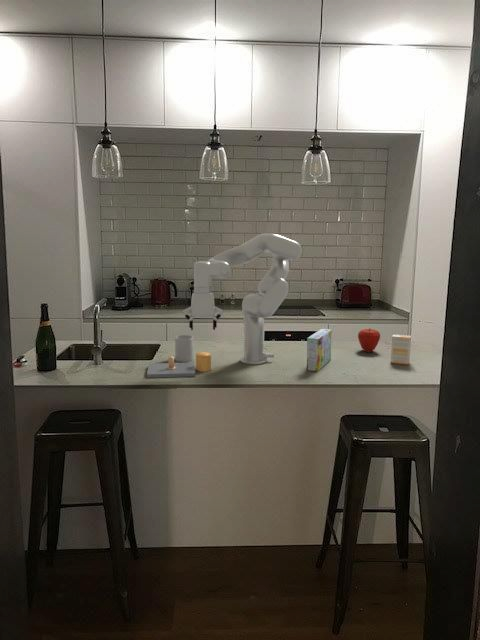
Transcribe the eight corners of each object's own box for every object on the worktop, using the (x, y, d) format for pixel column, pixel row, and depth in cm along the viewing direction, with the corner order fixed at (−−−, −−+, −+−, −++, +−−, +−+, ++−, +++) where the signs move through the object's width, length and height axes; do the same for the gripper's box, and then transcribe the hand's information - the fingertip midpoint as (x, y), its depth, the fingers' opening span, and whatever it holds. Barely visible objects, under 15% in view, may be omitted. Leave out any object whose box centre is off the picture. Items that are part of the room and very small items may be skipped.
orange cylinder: (210, 367, 224) (210, 351, 223) (211, 371, 218) (211, 355, 216) (195, 367, 223) (195, 352, 222) (196, 371, 217) (196, 356, 216)
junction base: (194, 365, 226) (193, 351, 225) (195, 376, 210) (195, 361, 209) (149, 366, 224) (148, 352, 222) (147, 377, 208) (146, 362, 207)
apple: (358, 347, 261) (360, 325, 259) (380, 349, 257) (381, 326, 255) (355, 352, 251) (357, 329, 249) (377, 354, 247) (379, 331, 245)
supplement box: (409, 362, 234) (411, 335, 232) (408, 365, 230) (410, 337, 227) (391, 360, 237) (393, 333, 235) (390, 363, 233) (391, 335, 231)
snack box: (319, 358, 239) (321, 328, 237) (331, 360, 237) (332, 329, 234) (305, 370, 221) (306, 337, 218) (317, 372, 218) (319, 338, 215)
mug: (192, 362, 231) (192, 339, 229) (174, 362, 231) (174, 339, 229) (194, 355, 243) (194, 333, 241) (177, 355, 243) (176, 333, 241)
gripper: (222, 289, 218) (222, 327, 222) (182, 289, 216) (182, 327, 220) (223, 291, 211) (223, 330, 214) (182, 291, 209) (183, 331, 212)
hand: (203, 329), depth 217 cm, fingers open, 9 cm apart
